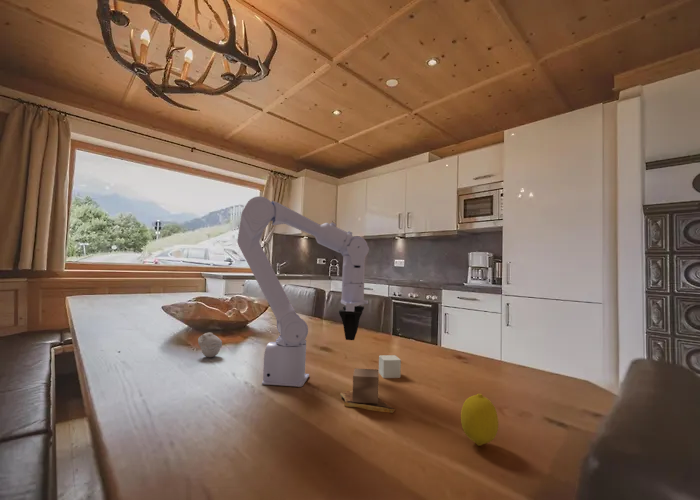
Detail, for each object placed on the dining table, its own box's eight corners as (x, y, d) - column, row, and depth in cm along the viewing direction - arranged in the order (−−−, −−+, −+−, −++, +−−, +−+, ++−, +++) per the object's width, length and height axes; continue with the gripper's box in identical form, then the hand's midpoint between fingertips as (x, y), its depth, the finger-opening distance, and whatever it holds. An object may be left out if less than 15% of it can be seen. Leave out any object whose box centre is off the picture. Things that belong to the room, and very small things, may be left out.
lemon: (454, 436, 54) (455, 387, 54) (486, 436, 54) (487, 387, 55) (469, 455, 48) (470, 400, 49) (505, 455, 49) (505, 401, 49)
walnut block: (352, 402, 64) (353, 376, 64) (353, 392, 69) (354, 368, 69) (378, 403, 63) (378, 377, 64) (377, 393, 68) (378, 369, 68)
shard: (395, 417, 62) (395, 407, 62) (359, 424, 58) (360, 413, 59) (367, 396, 71) (367, 388, 72) (335, 401, 68) (335, 392, 68)
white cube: (383, 378, 82) (383, 360, 82) (378, 372, 86) (379, 355, 86) (400, 378, 83) (400, 360, 83) (394, 372, 87) (395, 355, 87)
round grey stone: (204, 353, 98) (205, 330, 99) (226, 355, 97) (227, 331, 98) (192, 358, 92) (193, 334, 93) (215, 360, 91) (216, 335, 92)
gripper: (367, 285, 76) (366, 343, 75) (369, 282, 90) (367, 331, 90) (337, 283, 77) (335, 342, 76) (344, 281, 91) (342, 330, 90)
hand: (351, 336), depth 83 cm, fingers open, 7 cm apart
